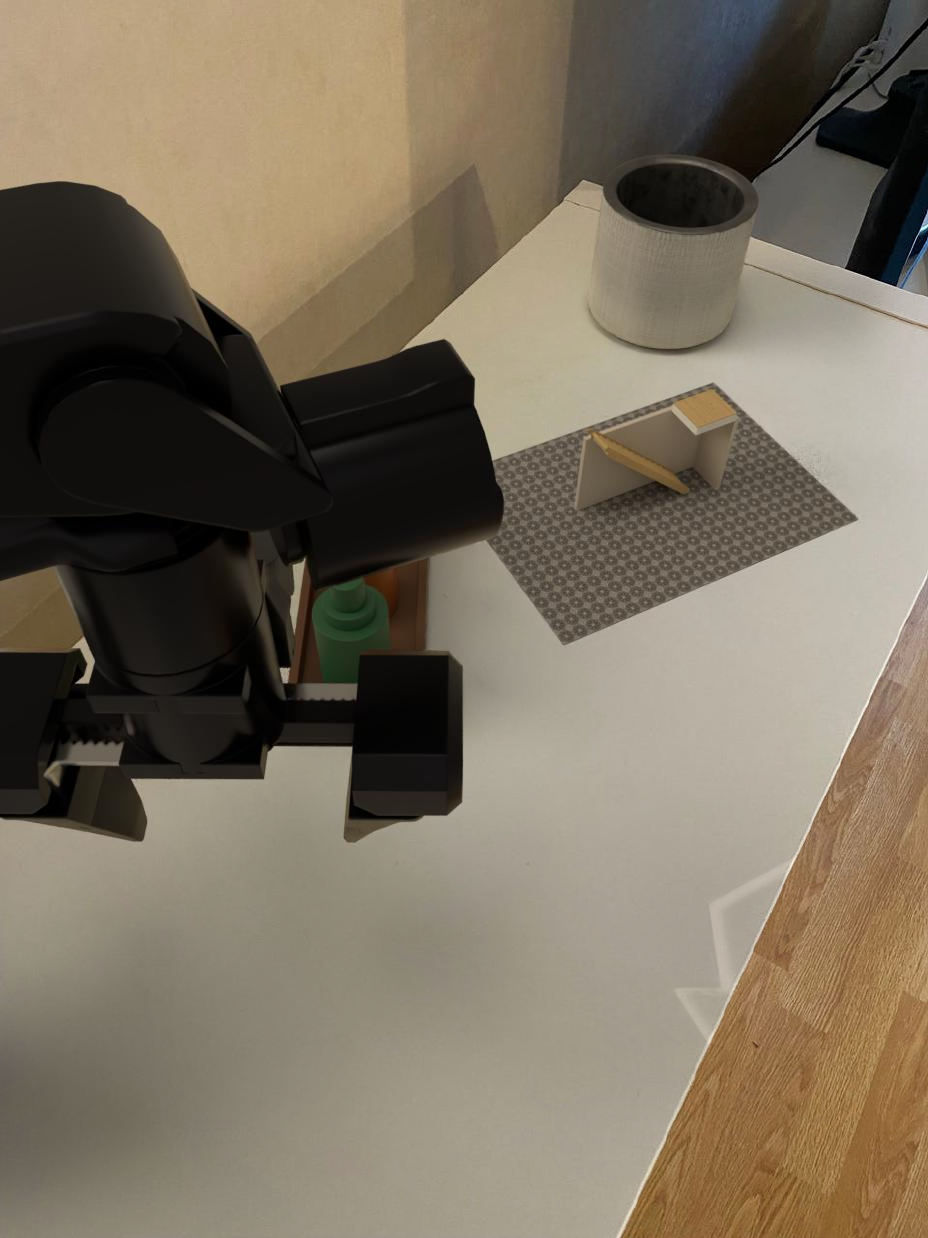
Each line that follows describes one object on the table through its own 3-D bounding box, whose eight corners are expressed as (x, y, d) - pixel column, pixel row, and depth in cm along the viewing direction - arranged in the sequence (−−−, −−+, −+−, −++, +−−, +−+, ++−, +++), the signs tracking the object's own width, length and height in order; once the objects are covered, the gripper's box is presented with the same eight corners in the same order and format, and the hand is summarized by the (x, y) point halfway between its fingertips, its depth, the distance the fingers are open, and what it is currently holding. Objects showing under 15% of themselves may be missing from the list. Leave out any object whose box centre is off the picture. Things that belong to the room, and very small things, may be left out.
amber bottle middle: (348, 637, 66) (335, 535, 58) (321, 591, 68) (306, 488, 61) (409, 613, 67) (404, 510, 60) (381, 568, 69) (373, 465, 62)
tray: (422, 736, 62) (421, 717, 60) (287, 734, 62) (282, 716, 60) (431, 501, 74) (430, 481, 73) (319, 499, 74) (316, 479, 73)
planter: (567, 334, 87) (580, 212, 78) (611, 259, 94) (627, 140, 86) (710, 370, 84) (740, 248, 76) (744, 290, 92) (775, 170, 83)
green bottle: (339, 716, 62) (324, 618, 54) (311, 664, 64) (294, 563, 57) (404, 688, 63) (398, 589, 56) (375, 639, 66) (365, 537, 58)
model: (719, 488, 75) (742, 407, 69) (597, 536, 72) (611, 455, 66) (693, 462, 77) (714, 380, 71) (573, 508, 74) (584, 426, 68)
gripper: (464, 438, 38) (459, 683, 50) (-44, 433, 37) (76, 680, 49) (466, 684, 31) (459, 899, 43) (-160, 680, 30) (13, 898, 42)
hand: (246, 831), depth 44 cm, fingers open, 9 cm apart
